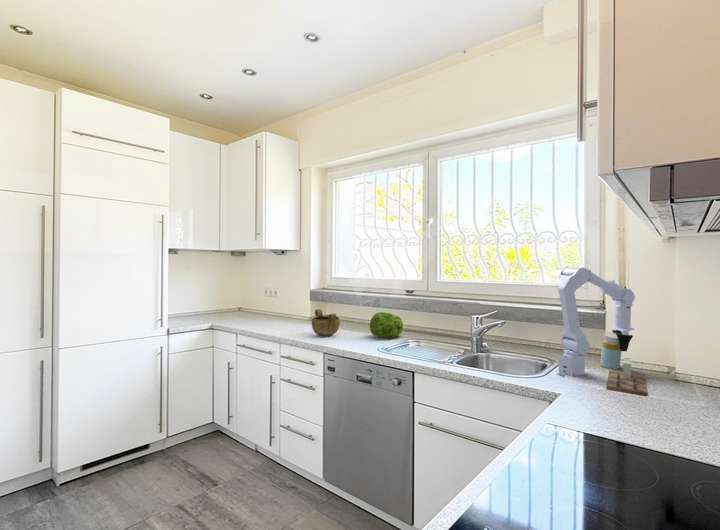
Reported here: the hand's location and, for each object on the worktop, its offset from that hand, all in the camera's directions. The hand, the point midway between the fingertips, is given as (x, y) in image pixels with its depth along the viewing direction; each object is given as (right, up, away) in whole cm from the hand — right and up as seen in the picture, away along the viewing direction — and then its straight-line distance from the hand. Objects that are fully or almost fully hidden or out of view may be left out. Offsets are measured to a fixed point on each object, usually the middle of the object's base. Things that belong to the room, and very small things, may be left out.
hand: (621, 349), depth 161 cm
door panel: (-4, -9, -9) cm, 13 cm away
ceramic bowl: (-131, -8, +73) cm, 150 cm away
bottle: (-2, -9, +4) cm, 10 cm away
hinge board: (-8, -10, -15) cm, 20 cm away
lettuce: (-93, -8, +69) cm, 116 cm away
